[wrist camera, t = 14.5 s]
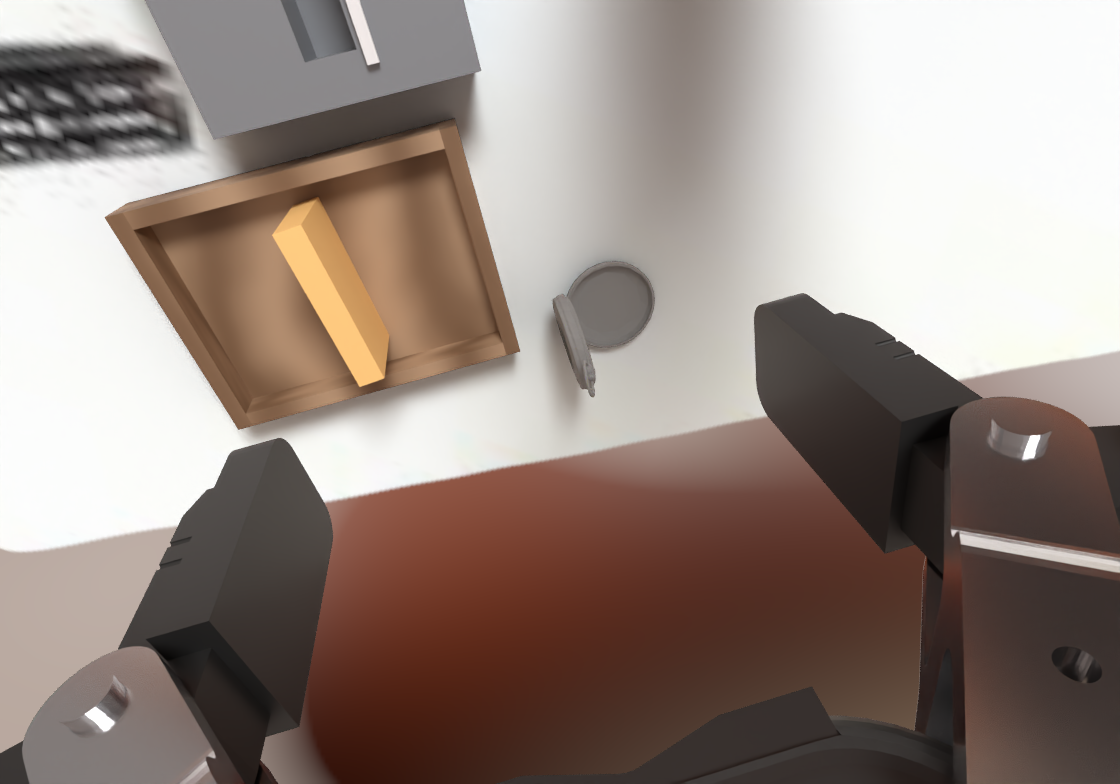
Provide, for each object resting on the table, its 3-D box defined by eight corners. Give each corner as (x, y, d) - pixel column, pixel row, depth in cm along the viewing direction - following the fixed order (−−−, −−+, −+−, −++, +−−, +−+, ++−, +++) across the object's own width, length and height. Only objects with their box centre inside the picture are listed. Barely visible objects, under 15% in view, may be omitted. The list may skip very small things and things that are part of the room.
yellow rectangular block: (300, 224, 32) (384, 378, 37) (318, 196, 37) (389, 335, 42) (272, 235, 32) (359, 387, 37) (293, 205, 37) (367, 343, 42)
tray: (454, 118, 37) (456, 125, 34) (515, 332, 45) (520, 351, 43) (126, 203, 36) (104, 217, 34) (249, 406, 44) (238, 429, 42)
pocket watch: (668, 293, 46) (721, 355, 37) (593, 373, 48) (628, 448, 40) (590, 226, 42) (630, 278, 34) (513, 316, 44) (533, 386, 36)
